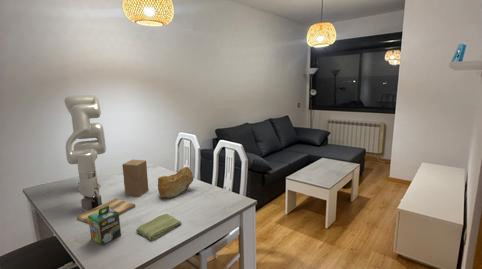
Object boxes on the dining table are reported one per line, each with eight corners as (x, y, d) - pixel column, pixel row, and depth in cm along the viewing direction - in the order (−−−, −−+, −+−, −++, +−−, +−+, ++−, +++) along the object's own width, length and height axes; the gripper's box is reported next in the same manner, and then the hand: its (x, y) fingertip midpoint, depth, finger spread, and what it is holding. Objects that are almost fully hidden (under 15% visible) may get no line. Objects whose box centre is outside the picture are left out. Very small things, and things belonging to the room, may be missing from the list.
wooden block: (139, 196, 152) (136, 165, 148) (125, 195, 154) (121, 164, 150) (148, 190, 161) (146, 160, 157) (134, 188, 163) (132, 159, 159)
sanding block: (82, 210, 135) (80, 199, 134) (96, 203, 142) (95, 194, 141) (88, 212, 133) (86, 201, 132) (102, 205, 140) (100, 195, 139)
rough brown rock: (183, 184, 173) (180, 163, 170) (197, 189, 161) (194, 166, 159) (151, 195, 156) (147, 173, 154) (164, 202, 145) (160, 177, 142)
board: (77, 219, 126) (77, 216, 126) (115, 201, 146) (115, 198, 145) (98, 226, 120) (98, 223, 119) (135, 206, 139) (135, 204, 139)
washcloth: (183, 224, 122) (182, 218, 121) (151, 243, 108) (151, 236, 107) (165, 216, 129) (165, 211, 129) (134, 232, 115) (133, 226, 115)
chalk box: (110, 229, 118) (107, 200, 115) (122, 235, 113) (118, 205, 110) (90, 239, 110) (86, 208, 107) (101, 246, 105) (97, 214, 102)
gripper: (71, 174, 134) (75, 206, 138) (91, 179, 127) (95, 212, 131) (84, 170, 141) (88, 200, 144) (105, 174, 134) (108, 206, 137)
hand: (91, 206), depth 138 cm, fingers closed on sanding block, 5 cm apart
